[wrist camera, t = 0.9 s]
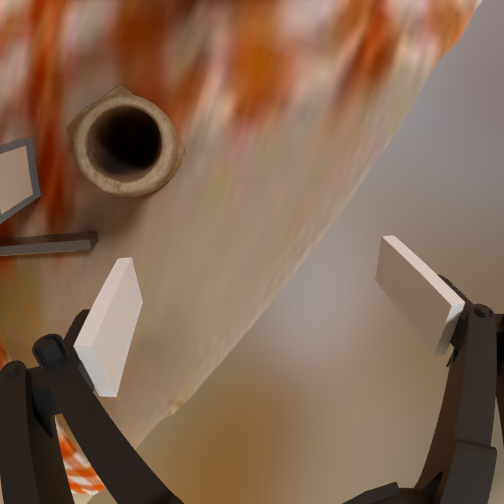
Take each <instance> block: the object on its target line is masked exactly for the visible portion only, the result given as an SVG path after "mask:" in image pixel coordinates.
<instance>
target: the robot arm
mask: <svg viewBox="0 0 504 504" xmlns="http://www.w3.org/2000/svg"><path fill="white" fill-rule="evenodd" d="M376 282H377V283H378V284H379V285H380V287H381V288H382V289H383V290H384V292H385V293H386V294H387V296H388V297H389V298H390V300H391V301H392V302H393V304H394V305H395V306H396V307H397V309H398V310H399V311H400V313H401V314H402V315H403V317H404V318H405V319H406V321H407V322H408V323H409V325H410V326H411V327H412V329H413V330H414V332H415V333H416V334H417V336H418V337H419V338H420V340H421V341H422V343H423V344H424V345H425V347H426V348H427V350H428V351H429V352H430V354H431V355H432V356H433V357H435V356H438V355H442V354H445V353H446V351H447V349H448V347H449V344H450V343H451V344H452V345H453V347H454V350H453V353H452V355H451V357H450V359H449V362H448V364H447V367H449V365H450V368H449V373H448V379H447V383H446V388H445V393H444V397H443V402H442V407H441V410H440V414H439V418H438V422H437V426H436V429H435V434H434V436H433V440H432V443H431V446H430V450H429V453H428V456H427V459H426V463H425V465H424V468H423V471H422V474H421V476H420V478H419V480H418V482H417V484H416V485H415V487H414V488H399V487H398V485H397V482H393V483H390V484H387V485H384V486H381V487H378V488H375V489H372V490H368V491H365V492H364V493H362V494H360V495H358V496H356V497H354V498H353V499H351V500H349V501H347V502H345V503H343V504H487V503H488V499H489V494H490V490H491V485H492V480H493V475H494V470H495V464H496V458H497V450H496V448H495V447H491V438H492V437H491V436H492V430H493V420H494V410H495V397H496V398H497V403H498V409H499V415H500V421H501V428H502V436H503V444H504V314H494V312H493V311H492V309H490V308H489V307H487V306H485V305H482V304H472V303H471V302H470V301H469V300H468V299H467V298H466V297H465V296H464V295H463V294H462V293H461V292H460V291H458V289H457V288H456V287H455V286H453V284H452V283H451V282H450V281H449V280H448V279H446V278H444V277H443V276H441V275H439V274H438V275H437V274H436V273H434V272H433V271H432V270H431V269H430V268H429V267H428V266H427V265H426V264H425V263H424V262H423V261H422V260H420V259H419V258H418V257H417V256H416V255H415V254H414V253H413V252H412V251H410V250H409V249H408V248H407V247H406V246H405V245H404V244H403V243H402V242H400V241H399V240H398V239H397V238H396V237H395V236H382V238H381V246H380V253H379V260H378V267H377V273H376ZM142 303H143V302H142V298H141V294H140V290H139V286H138V282H137V278H136V274H135V270H134V265H133V261H132V257H130V258H118V259H117V261H116V263H115V265H114V267H113V268H112V270H111V272H110V274H109V276H108V278H107V279H106V281H105V283H104V285H103V287H102V289H101V291H100V293H99V295H98V296H97V298H96V300H95V302H94V304H93V306H92V308H91V309H89V310H82V311H81V312H80V313H79V314H78V315H77V316H76V317H75V319H74V321H73V323H72V326H71V327H70V328H69V330H68V331H69V332H67V334H66V336H65V338H64V340H63V339H62V337H61V336H60V335H57V334H48V335H45V336H43V337H41V338H40V339H38V340H37V341H36V342H35V343H34V345H33V348H32V352H33V354H34V356H35V358H36V360H37V362H38V363H39V365H40V366H39V367H34V368H30V369H27V368H26V366H25V365H24V363H23V362H21V361H18V360H16V361H11V362H9V363H7V364H6V365H5V366H4V367H3V368H2V369H1V371H0V478H1V486H2V494H3V501H4V504H75V503H74V500H73V496H72V493H71V490H70V486H69V482H68V479H67V475H66V471H65V467H64V463H63V459H62V454H61V450H60V445H59V440H58V435H57V429H56V423H55V417H54V415H56V414H61V413H62V414H63V416H64V418H65V420H66V422H67V424H68V426H69V428H70V429H71V431H72V433H73V435H74V437H75V438H76V440H77V442H78V444H79V445H80V447H81V449H82V451H83V452H84V454H85V456H86V457H87V459H88V460H89V462H90V464H91V465H92V467H93V468H94V470H95V472H96V473H97V475H98V476H99V478H100V479H101V481H102V482H103V484H104V485H105V486H106V488H107V489H108V491H109V492H110V493H111V495H112V496H113V498H114V499H115V500H116V502H117V503H118V504H184V503H183V502H182V501H181V500H180V499H179V498H178V497H177V496H175V495H174V494H173V493H172V492H171V491H170V490H169V489H168V488H167V487H166V486H165V485H164V484H163V482H162V481H161V480H160V479H159V478H158V477H157V476H156V475H155V474H154V473H153V471H152V470H151V469H150V468H149V467H148V465H147V464H146V463H145V462H144V461H143V460H142V458H141V457H140V456H139V455H138V453H137V452H136V451H135V450H134V448H133V447H132V446H131V445H130V443H129V442H128V441H127V440H126V438H125V437H124V436H123V434H122V433H121V432H120V430H119V429H118V428H117V426H116V425H115V424H114V422H113V421H112V419H111V418H110V417H109V415H108V414H107V412H106V411H105V409H104V408H103V407H102V405H101V404H100V402H99V401H98V399H97V398H96V396H95V395H94V393H93V390H94V387H95V389H96V391H97V393H98V395H99V396H102V397H117V393H118V389H119V385H120V381H121V377H122V373H123V369H124V366H125V362H126V358H127V354H128V351H129V347H130V344H131V340H132V337H133V333H134V330H135V326H136V323H137V320H138V316H139V313H140V310H141V306H142Z"/></svg>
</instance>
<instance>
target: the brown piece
mask: <svg viewBox="0 0 504 504" xmlns="http://www.w3.org/2000/svg"><path fill="white" fill-rule="evenodd" d="M66 134H67V136H68V137H69V138H70V139H71V140H72V141H73V153H74V157H75V161H76V163H77V166H78V168H79V169H80V171H81V173H82V174H83V175H84V176H85V178H86V179H87V180H88V181H89V182H90V183H92V184H93V185H94V186H96V187H97V188H99V189H101V190H102V191H105V192H107V193H110V194H112V195H116V196H121V197H137V196H142V195H145V194H149V193H152V192H154V191H155V190H157V189H159V188H160V187H161V186H163V185H164V184H165V183H166V182H167V181H168V180H169V179H170V178H171V177H172V176H173V175H174V174H175V173H176V171H177V170H178V168H179V167H180V165H181V163H182V160H183V156H184V154H185V146H184V144H183V142H182V140H181V138H180V137H179V135H178V134H177V132H176V129H175V127H174V125H173V123H172V122H171V120H170V119H169V118H168V116H167V115H166V114H165V113H164V112H163V111H162V110H161V109H160V108H159V107H158V106H156V105H155V104H154V103H152V102H150V101H149V100H147V99H145V98H142V97H139V96H135V95H133V94H132V93H131V92H130V91H129V90H127V89H126V88H124V87H123V86H118V87H116V88H114V89H113V90H112V91H110V92H109V93H108V94H107V95H105V96H104V97H103V98H102V99H101V100H100V101H98V102H96V103H93V104H91V105H90V106H89V107H86V108H85V109H84V110H82V111H81V112H80V113H79V114H78V115H77V116H76V117H75V118H74V119H73V120H72V122H71V123H70V124H69V126H68V127H67V129H66Z"/></svg>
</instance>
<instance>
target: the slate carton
mask: <svg viewBox="0 0 504 504" xmlns="http://www.w3.org/2000/svg"><path fill="white" fill-rule="evenodd" d="M40 196H41V193H40V188H39V182H38V175H37V169H36V161H35V153H34V145H33V137H29V138H25V139H21V140H17V141H13V142H10V143H6V144H3V145H0V224H1V223H2V222H4V221H5V220H6V219H8V218H9V217H11V216H12V215H13V214H15V213H16V212H18V211H19V210H21V209H22V208H24V207H25V206H26V205H28V204H29V203H31V202H32V201H34V200H36V199H37V198H39V197H40Z"/></svg>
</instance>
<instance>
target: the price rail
mask: <svg viewBox="0 0 504 504" xmlns="http://www.w3.org/2000/svg"><path fill="white" fill-rule="evenodd" d="M97 242H98V238H97V232H96V231H94V232H81V233H69V234H57V235H45V236H34V237H24V238H14V239H4V240H0V256H6V255H21V254H36V253H51V252H67V251H77V250H92V248H93V247H94V246H95V244H96V243H97Z"/></svg>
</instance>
